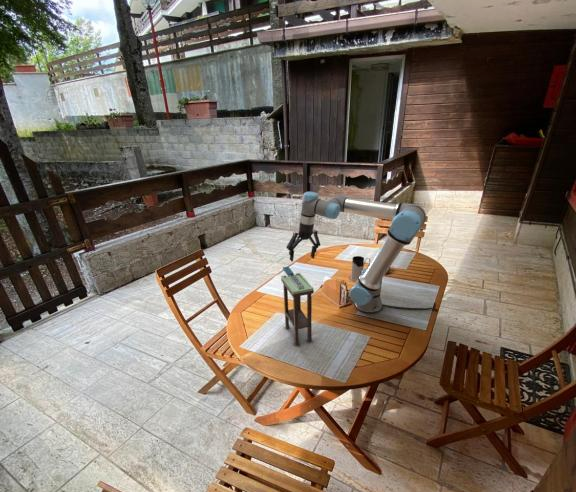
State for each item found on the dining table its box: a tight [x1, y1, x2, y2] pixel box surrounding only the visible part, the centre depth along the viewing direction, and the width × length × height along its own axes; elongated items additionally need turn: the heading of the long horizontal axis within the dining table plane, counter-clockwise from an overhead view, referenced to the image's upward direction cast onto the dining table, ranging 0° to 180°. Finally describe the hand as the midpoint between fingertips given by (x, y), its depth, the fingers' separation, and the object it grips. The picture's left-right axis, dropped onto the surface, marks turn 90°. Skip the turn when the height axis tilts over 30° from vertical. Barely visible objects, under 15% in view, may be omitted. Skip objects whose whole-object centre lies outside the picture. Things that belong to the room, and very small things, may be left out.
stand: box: [280, 278, 315, 346], centre depth 156 cm, size 18×10×30 cm, turn 18°
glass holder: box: [349, 255, 371, 282], centre depth 214 cm, size 9×14×15 cm, turn 113°
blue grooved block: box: [282, 266, 304, 290], centre depth 153 cm, size 24×3×1 cm, turn 18°
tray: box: [280, 272, 314, 294], centre depth 148 cm, size 18×10×1 cm, turn 18°
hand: (302, 258), depth 177 cm, fingers open, 13 cm apart
